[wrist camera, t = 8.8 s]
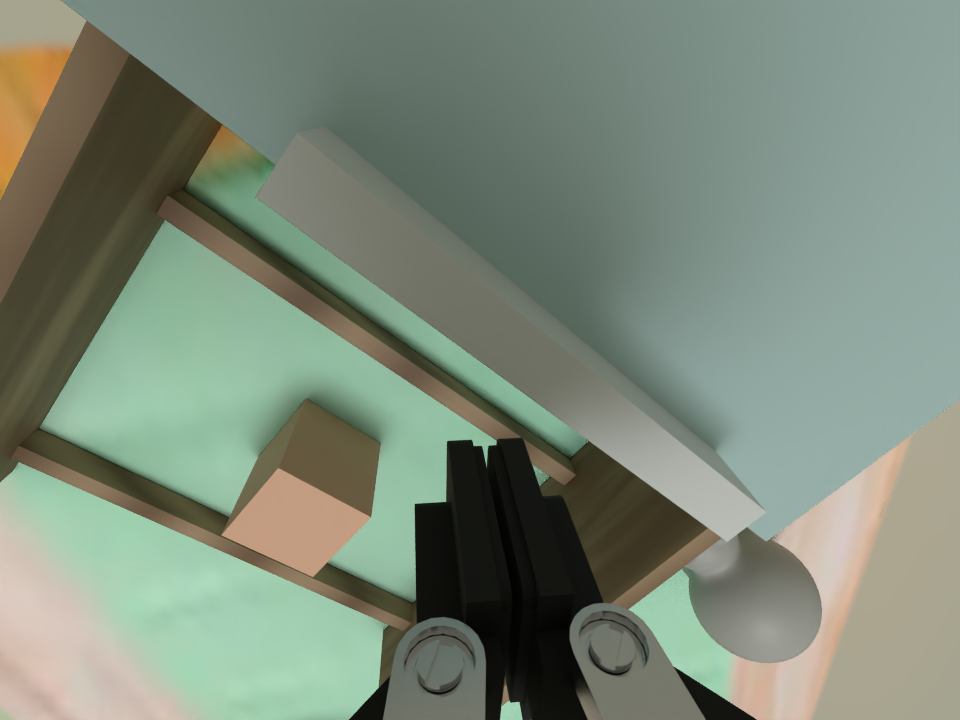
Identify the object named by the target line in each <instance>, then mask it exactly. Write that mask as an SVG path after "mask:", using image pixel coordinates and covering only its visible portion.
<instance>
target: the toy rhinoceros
mask: <svg viewBox="0 0 960 720" xmlns="http://www.w3.org/2000/svg"><path fill="white" fill-rule="evenodd" d="M682 569H683V571H684V572H685V574H686V575H687V576H688V577H689V594H690V600H691V604H692V607H693V610H694V612H695V614H696V616H697V618H698V620H699V622H700V623H701V625H702V627H703V628H704V629H705V631H706V632H707V633H708V634H709V635H710V636H711V637H712V638H713V639H714V640H715V641H716V642H717V643H718V644H719V645H721V646H722V647H723V648H725V649H726V650H728V651H729V652H731V653H733V654H735V655H737V656H739V657H741V658H744V659H747V660H750V661H755V662H760V663H777V662H783V661H786V660H789V659H792V658H794V657H796V656H798V655H799V654H801V653H802V652H804V651H805V650H806V649H807V648H808V647H809V646H810V645H811V643H812V642H813V640H814V639H815V637H816V635H817V633H818V630H819V627H820V623H821V616H822V607H821V599H820V595H819V591H818V589H817V586H816V584H815V581H814V580H813V578H812V576H811V574H810V573H809V571H808V570H807V568H806V567H805V566H804V565H803V563H802V562H801V561H800V560H799V559H798V558H797V557H796V556H795V555H794V554H793V553H791V552H790V551H789V550H787V549H786V548H785V547H783V546H781V545H780V544H778V543H776V542H774V541H772V540H768V541H765V540H763V539H762V538H761V537H759V536H758V535H757V534H755V533H754V532H753V531H752V530H750V529H749V528H748V527H746V528H745V529H744V530H742V531H741V532H740V533H738V534H737V535H736V536H734V537H733V538H732V539H730V540H729V541H728V542H727V541H725V540H724V539H723V538H721V539H720V540H718V541H717V542H716V543H715V544H713V545H712V546H711V547H709V548H708V549H707V550H705V551H704V552H703V553H701V554H700V555H699V556H698V557H696V558H695V559H694V560H692V561H691V562H690V563H688V564H687V565H686V566H684V567H683V568H682Z"/></svg>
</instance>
